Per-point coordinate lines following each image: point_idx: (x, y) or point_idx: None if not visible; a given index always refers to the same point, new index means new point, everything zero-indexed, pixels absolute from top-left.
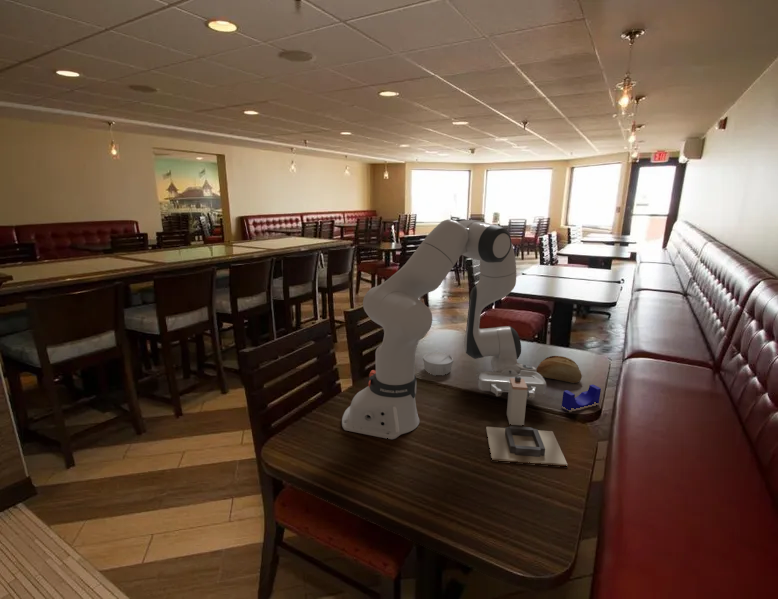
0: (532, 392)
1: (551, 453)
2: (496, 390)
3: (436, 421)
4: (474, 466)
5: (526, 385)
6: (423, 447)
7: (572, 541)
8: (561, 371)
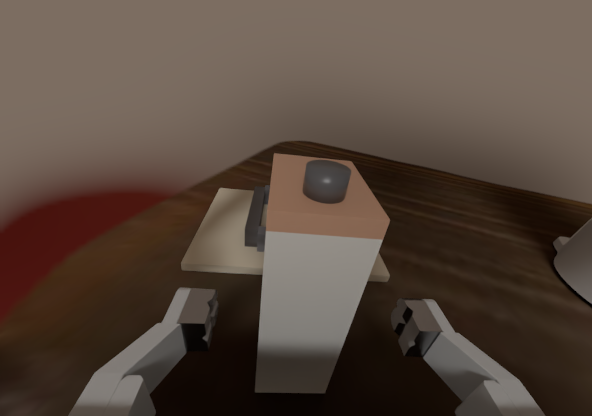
0: (188, 295)
1: (236, 204)
2: (436, 303)
3: (547, 310)
4: None
5: (274, 162)
6: (480, 228)
7: (269, 147)
8: None
